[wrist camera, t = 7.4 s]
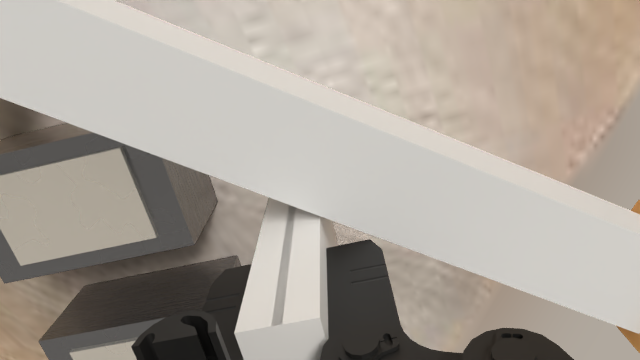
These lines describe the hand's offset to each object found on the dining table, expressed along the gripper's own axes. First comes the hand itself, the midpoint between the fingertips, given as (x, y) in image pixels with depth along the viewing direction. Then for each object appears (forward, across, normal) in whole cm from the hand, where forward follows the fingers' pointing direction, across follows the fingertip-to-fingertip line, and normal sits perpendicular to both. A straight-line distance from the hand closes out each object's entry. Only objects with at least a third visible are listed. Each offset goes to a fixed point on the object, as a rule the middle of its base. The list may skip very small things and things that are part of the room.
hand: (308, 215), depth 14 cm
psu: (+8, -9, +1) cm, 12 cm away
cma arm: (-1, +1, +3) cm, 3 cm away
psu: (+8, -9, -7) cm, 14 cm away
